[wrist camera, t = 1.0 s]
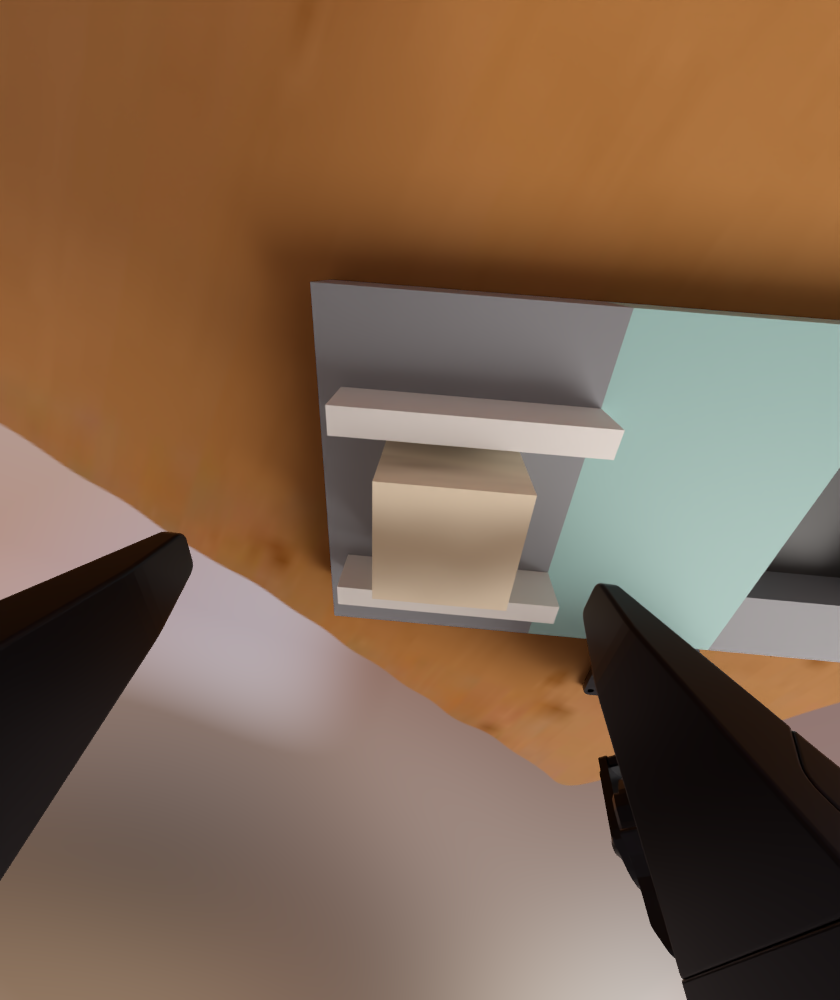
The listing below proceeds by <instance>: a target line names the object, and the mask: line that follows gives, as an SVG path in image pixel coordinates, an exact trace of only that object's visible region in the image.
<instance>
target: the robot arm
mask: <svg viewBox="0 0 840 1000" xmlns="http://www.w3.org/2000/svg"><path fill="white" fill-rule="evenodd" d="M192 568H193V562H192V558H191V554H190V550H189V547H188V543H187V540H186V537H185V536H184V535H183V534H181V533H173V532H160V533H158V534H156V535H153V536H151V537H148V538H146V539H144V540H141V541H139V542H137V543H134V544H132V545H130V546H127V547H125V548H123V549H120V550H118V551H115V552H113V553H111V554H108V555H106V556H103V557H101V558H99V559H96V560H94V561H92V562H90V563H87V564H85V565H82V566H80V567H77V568H75V569H73V570H70V571H68V572H66V573H63V574H61V575H59V576H56V577H54V578H52V579H49V580H47V581H44V582H42V583H40V584H37V585H35V586H33V587H30V588H28V589H26V590H23V591H21V592H19V593H16V594H14V595H11V596H9V597H7V598H5V599H2V600H0V880H1V878H2V877H3V876H4V874H5V873H6V871H7V870H8V868H9V866H10V865H11V863H12V862H13V860H14V859H15V857H16V856H17V854H18V852H19V851H20V849H21V848H22V846H23V845H24V843H25V842H26V840H27V838H28V837H29V836H30V834H31V832H32V831H33V829H34V828H35V826H36V825H37V823H38V822H39V820H40V819H41V817H42V816H43V814H44V812H45V811H46V809H47V808H48V806H49V805H50V803H51V801H52V800H53V799H54V797H55V795H56V794H57V792H58V791H59V789H60V788H61V786H62V785H63V783H64V782H65V780H66V778H67V776H68V775H69V774H70V772H71V771H72V769H73V768H74V766H75V764H76V763H77V761H78V760H79V758H80V757H81V755H82V754H83V752H84V751H85V749H86V748H87V746H88V745H89V743H90V741H91V740H92V738H93V737H94V735H95V734H96V732H97V731H98V729H99V728H100V726H101V724H102V723H103V721H104V720H105V718H106V717H107V715H108V714H109V712H110V711H111V709H112V708H113V706H114V704H115V703H116V701H117V700H118V698H119V696H120V695H121V694H122V692H123V691H124V689H125V687H126V686H127V684H128V683H129V681H130V680H131V678H132V677H133V675H134V674H135V672H136V671H137V669H138V667H139V666H140V664H141V663H142V661H143V660H144V658H145V657H146V655H147V654H148V652H149V650H150V649H151V647H152V646H153V644H154V642H155V641H156V639H157V637H158V636H159V634H160V632H161V631H162V629H163V627H164V625H165V623H166V621H167V619H168V617H169V615H170V614H171V612H172V610H173V608H174V606H175V604H176V602H177V600H178V598H179V596H180V594H181V592H182V590H183V588H184V586H185V584H186V582H187V580H188V578H189V576H190V574H191V571H192ZM583 622H584V628H585V633H586V639H587V644H588V650H589V655H590V661H591V666H592V668H591V670H590V672H589V674H588V676H587V678H586V680H585V682H584V684H583V690H584V692H585V693H586V694H589V695H598V698H599V701H600V704H601V708H602V711H603V715H604V718H605V721H606V725H607V728H608V732H609V735H610V738H611V742H612V745H613V748H614V752H615V755H613V756H609V757H607V756H603V757H599V758H598V759H599V765H600V770H601V771H600V777H601V783H602V788H603V794H604V799H605V805H606V809H607V816H608V821H609V826H610V832H611V839H612V846H613V849H614V851H615V853H616V854H617V855H618V856H619V857H620V858H621V859H622V860H623V862H624V864H625V866H626V868H627V871H628V872H629V874H630V876H631V878H632V880H633V881H634V882H635V884H636V885H637V887H638V888H639V889H640V890H641V892H642V896H643V899H644V903H645V906H646V910H647V914H648V917H649V921H650V924H651V926H652V928H653V930H654V931H655V933H656V934H657V936H658V937H659V938H660V940H661V941H662V943H663V944H664V946H665V947H666V949H667V950H668V952H669V953H670V954H671V955H672V956H673V957H674V958H675V959H676V962H677V966H678V969H679V973H680V976H681V978H682V979H683V980H682V984H683V988H684V991H685V994H686V998H687V1000H840V767H839V766H837V765H836V764H835V763H834V762H832V761H831V760H830V759H829V758H827V757H826V756H825V755H824V754H822V753H821V752H820V751H818V749H816V748H815V747H814V746H813V745H811V744H810V743H809V742H808V741H807V740H805V739H804V738H803V737H802V736H801V735H799V734H798V733H797V732H795V731H791V728H790V727H789V726H788V725H787V724H786V723H785V722H783V721H782V720H781V719H780V718H779V717H777V716H776V715H775V714H774V713H772V712H771V711H770V710H769V709H768V708H766V707H765V706H764V705H763V704H762V703H760V702H759V701H758V700H757V699H755V698H754V697H753V696H752V695H751V694H749V693H748V692H747V691H746V690H744V689H743V688H742V687H741V686H740V685H738V684H737V683H736V682H735V681H734V680H732V679H731V678H730V677H729V676H727V675H726V674H725V673H724V672H723V671H721V670H720V669H719V668H718V667H717V666H715V665H714V664H713V663H712V662H710V661H709V660H708V659H707V658H706V657H704V656H703V655H702V654H701V653H699V652H700V651H699V649H695V648H693V647H692V646H691V645H690V644H689V643H687V642H686V641H685V640H684V639H682V638H681V637H680V636H679V635H678V634H676V633H675V632H674V631H673V630H672V629H670V628H669V627H668V626H667V625H665V624H664V623H663V622H662V621H661V620H659V619H658V618H657V617H656V616H654V615H653V614H652V613H651V612H650V611H648V610H647V609H646V608H645V607H644V606H642V605H641V604H640V603H639V602H637V601H636V600H635V599H634V598H633V597H631V596H630V595H629V594H628V593H627V592H625V591H624V590H623V589H622V588H620V587H619V586H617V585H614V584H606V583H598V584H596V585H595V587H594V588H593V590H592V592H591V594H590V597H589V599H588V601H587V603H586V605H585V607H584V610H583Z"/></svg>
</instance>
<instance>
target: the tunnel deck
mask: <svg viewBox="0 0 840 1000" xmlns="http://www.w3.org/2000/svg"><path fill="white" fill-rule="evenodd" d="M310 286H311V299H312V313H313V327H314V341H315V354H316V368H317V382H318V395H319V409H320V423H321V436H322V450H323V464H324V478H325V491H326V505H327V519H328V532H329V546H330V560H331V573H332V587H333V601H334V615H336V616H347V617H358V618H369V619H379V620H390V621H401V622H412V623H423V624H433V625H444V626H455V627H466V628H476V629H487V630H498V631H509V632H519V633H530V634H541V635H552V636H563V637H573V638H584V639H586V633H585V628H584V622H583V610H584V607H585V605H586V603H587V601H588V599H589V597H590V594H591V592H592V590H593V588H594V587H595V585H596V584H598V583H606V584H614V585H617V586H619V587H620V588H622V589H623V590H624V591H625V592H627V593H628V594H629V595H630V596H631V597H633V598H634V599H635V600H636V601H637V602H639V603H640V604H641V605H642V606H644V607H645V608H646V609H647V610H648V611H650V612H651V613H652V614H653V615H654V616H656V617H657V618H658V619H659V620H661V621H662V622H663V623H664V624H665V625H667V626H668V627H669V628H670V629H672V630H673V631H674V632H675V633H676V634H678V635H679V636H680V637H681V638H682V639H684V640H685V641H686V642H687V643H689V644H690V645H691V646H692V647H693V648H695V649H703V650H713V651H724V652H735V653H746V654H756V655H767V656H778V657H789V658H799V659H810V660H821V661H832V662H840V320H830V319H818V318H805V317H793V316H780V315H768V314H755V313H743V312H730V311H718V310H705V309H693V308H680V307H668V306H655V305H643V304H630V303H618V302H606V301H593V300H581V299H568V298H556V297H543V296H531V295H518V294H506V293H493V292H481V291H468V290H456V289H443V288H431V287H418V286H406V285H393V284H381V283H368V282H356V281H343V280H322V281H314V282H310ZM386 441H398V442H409V443H421V444H432V445H444V446H456V447H467V448H479V449H491V450H502V451H514V452H520V454H521V457H522V459H523V462H524V464H525V467H526V469H527V472H528V474H529V477H530V479H531V482H532V484H533V487H534V489H535V492H536V494H537V498H536V502H535V505H534V509H533V513H532V517H531V520H530V524H529V528H528V531H527V535H526V539H525V543H524V546H523V550H522V554H521V558H520V561H519V565H518V569H517V573H516V576H515V580H514V584H513V588H512V591H511V595H510V599H509V603H508V606H507V610H506V611H501V610H490V609H479V608H468V607H457V606H446V605H435V604H425V603H414V602H403V601H392V600H381V599H372V481H373V478H374V475H375V472H376V469H377V466H378V464H379V461H380V458H381V455H382V452H383V449H384V446H385V443H386Z"/></svg>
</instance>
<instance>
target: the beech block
mask: <svg viewBox="0 0 840 1000" xmlns="http://www.w3.org/2000/svg"><path fill="white" fill-rule="evenodd" d="M536 498H537V494H536V492H535V489H534V487H533V484H532V482H531V479H530V477H529V474H528V472H527V469H526V467H525V464H524V462H523V459H522V457H521V454H520V452H514V451H502V450H491V449H479V448H467V447H456V446H444V445H432V444H421V443H409V442H398V441H386V443H385V446H384V449H383V452H382V455H381V458H380V461H379V464H378V466H377V469H376V472H375V475H374V478H373V481H372V599H381V600H392V601H403V602H414V603H425V604H435V605H446V606H457V607H468V608H479V609H490V610H501V611H506V610H507V606H508V603H509V599H510V595H511V591H512V588H513V584H514V580H515V576H516V573H517V569H518V565H519V561H520V558H521V554H522V550H523V546H524V543H525V539H526V535H527V531H528V528H529V524H530V520H531V517H532V513H533V509H534V505H535V502H536Z"/></svg>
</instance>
